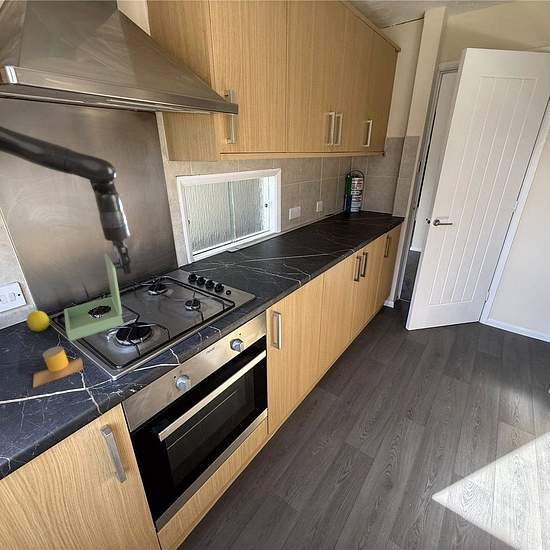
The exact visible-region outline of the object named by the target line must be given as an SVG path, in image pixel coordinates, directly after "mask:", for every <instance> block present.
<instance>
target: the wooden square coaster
mask: <svg viewBox="0 0 550 550" xmlns="http://www.w3.org/2000/svg"><path fill="white" fill-rule="evenodd" d="M68 362H69V363H68V365H67V366H66V367H65V368H63V369H61V370H59V371H55V372H51V371H49V369H48V368H45V369H42V370H39V371H36V372H34V373H33V381H32V382H33V384H32V388H37V387H40V386H42V385H45V384H48V383H50V382H54V381H56V380H59V379H62V378H64V377H68V376H70V375H72V374H75V373H78V372H81V371H84V363H83V358H82V356H80V357H77V358H74V359H71V360H68Z"/></svg>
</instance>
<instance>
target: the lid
mask: <svg viewBox="0 0 550 550" xmlns="http://www.w3.org/2000/svg"><path fill="white" fill-rule="evenodd" d="M103 255H104V261H105V266H106V272H107V278H108V279H107V280H108V285H109V291H110V297H112V298H113V300H114V303H115V305H116V307H117V309H118V312H119V314H121V315H122V314H123V310H122V309H123V308H122V304H121V297H120V289H119V284H118V278H117V271H116V270H122V269H121V268H123V267H122V264H121V261H120V262H119V261H117V262H116V261H115V262H112V260H111V258H110V257H109V255H108V253H104V254H103ZM123 261H125V260H123ZM120 264H121V266H120ZM117 265H119V266H117Z"/></svg>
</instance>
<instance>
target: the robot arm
mask: <svg viewBox="0 0 550 550" xmlns="http://www.w3.org/2000/svg"><path fill="white" fill-rule="evenodd" d="M0 152H1V153H5V154H8V155H11V156H13V157H16V158H19V159H22V160H24V161H26V162H29V163H31V164H34V165H37V166H39V167H42V168H46V169H49V170H51V171H56V172H60V173H63V174H67V175H74V176H77V177H80V178H83V179H86V180H89V183H90V186H91V189H92V191H93V194H94V197H95V203H96V207H97V210H98V215H99V222H100V225H101V228H102V229H101V230H102V233H103V236H104V239H105V240H106V241H109V242H112V244H111V245H112V248H113V251H114V254H115V256H116V259H117V260H118V262H120V261H121V264H122V267H123V268H121V269H120V270H123V274H124V275H125V276H127V275H131V274H132V268H131V265H130V264H131V259H130V253H129V248H128V244H127V243H126V241H124V240H125V239H128V238H129V237H131V234H130V229H129V226H128V222H127V217H126V214H125V212H124V207H123V204H122V200H121V196H120V194H119V192H118V191H117V188H116V183H115V179H116V176H117V171H116V169H115V167H114V165H113V163H111V162H110V161H108V160H106V159H103V158H100V157H97V156H93V155H90V154H85V153H82V152H79V151H76V150H74V149H71V148H69V147H65V146H62V145H60V144H57V143H53V142H50V141H47V140H43V139H41V138H37V137H35V136H34V137H33V136H32V135H31V136H30V135H27V134H24V133H22V132H21V133H20V132H18V131H14V130H12V129H10V128H7V127H4V126H1V125H0ZM123 260H125V261H123ZM121 264H119V266H121Z"/></svg>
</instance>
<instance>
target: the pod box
mask: <svg viewBox="0 0 550 550" xmlns="http://www.w3.org/2000/svg"><path fill="white" fill-rule="evenodd" d="M99 306H109V307H111V311H110V312H109V313H108V314H106V315H104V316H102V317H100V318H92V317H90V316H89V315H88V312H89V311H90V310H92V309H94V308H96V307H99ZM63 314H64V323H65V333H66V336H67V338H68V341H69V342H72V341H75V340H78V339H82V338H85V337H88V336H91V335H95V334H99V333H101V332H104V331H107V330H111V329H113V328H114V329H115V328H116V327H121V326H123V325H125V323H124V320H123V316H122V314H119V312H118V309H117V307H116V305H115V303H114V300H113V298H112V296H110V297H106V298H101V299H98V300H94V301H90V302H86V303H82V304H78V305H75V306H72V307H68V308H64V309H63Z"/></svg>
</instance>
